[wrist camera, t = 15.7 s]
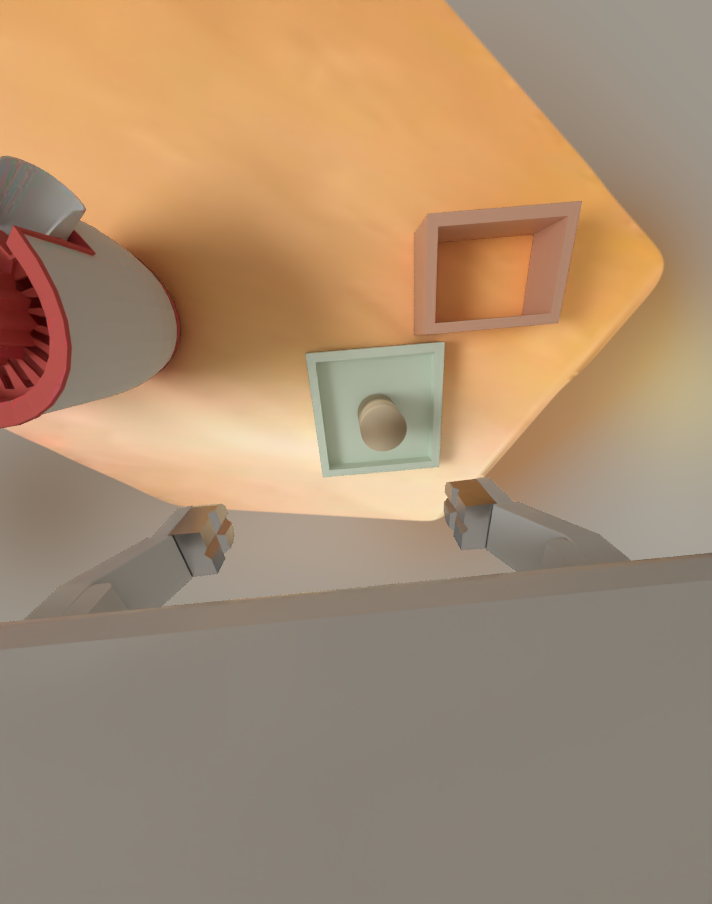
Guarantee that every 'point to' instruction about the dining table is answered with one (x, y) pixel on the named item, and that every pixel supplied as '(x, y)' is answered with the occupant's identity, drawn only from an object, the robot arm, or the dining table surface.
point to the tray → (377, 372)
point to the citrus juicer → (70, 303)
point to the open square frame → (544, 221)
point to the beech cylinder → (381, 423)
